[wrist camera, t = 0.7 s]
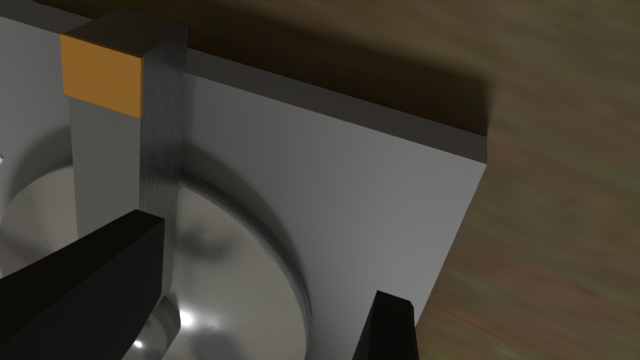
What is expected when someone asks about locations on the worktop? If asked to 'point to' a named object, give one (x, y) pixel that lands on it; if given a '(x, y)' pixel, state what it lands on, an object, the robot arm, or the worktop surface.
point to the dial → (158, 202)
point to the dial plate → (275, 168)
